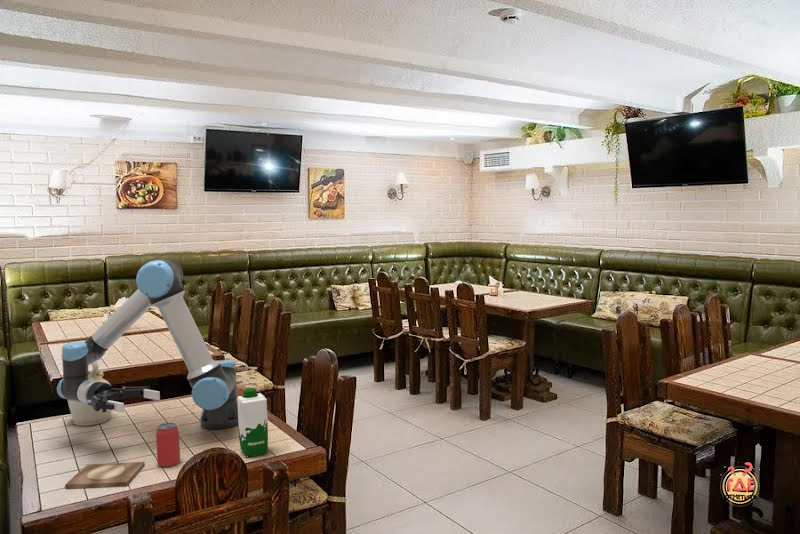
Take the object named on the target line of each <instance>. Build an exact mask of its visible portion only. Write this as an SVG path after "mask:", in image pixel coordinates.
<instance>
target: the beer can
mask: <svg viewBox="0 0 800 534" xmlns="http://www.w3.org/2000/svg"><path fill="white" fill-rule="evenodd" d="M179 430H180V429H179V428H178V426H177V423H176V422H165V423H160V424H159V425H158V426H157V429H156V432H155V443H156V444H155V446H156V461H157V465H158V466H159V467H162V468H169V467H173V466H176V465H178V464H179V463H180V461H181V451H180V450H181V448H180V432H179Z"/></svg>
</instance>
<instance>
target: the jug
mask: <svg viewBox="0 0 800 534" xmlns="http://www.w3.org/2000/svg"><path fill="white" fill-rule="evenodd" d="M90 365H91V366H92V370H91V371H88V372H89V375H88V376H89V380H93V381H99V382H104V383H108V384H110V385H111V383H110V382H109V381H108V380H107V379H104V378H103V377H104V376H105V374H104V370H103V369H99V367H100V366H99V363H98V360H97V361H95V362H93V363H91V364H90ZM67 403H68V408H69V411H70V415H71V419H72V421H73V424H74V425H76V426H81V427H85V426H87V427H88V426H95V425H100V424H102V423H104V422H107V421H108V420H110V418H111V415H112V410H108V409H107V412H102V409H100V411H95V410H94V408H93V407H92V406H91V405H88V403H83V402H78V401H70V400H67Z"/></svg>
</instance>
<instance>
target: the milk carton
mask: <svg viewBox="0 0 800 534" xmlns="http://www.w3.org/2000/svg"><path fill="white" fill-rule="evenodd" d="M267 400H268V399H267V398H266V397H265V395H264V394H262V393H261V392H258V393H257V388H254V387H252V388H251V387H249V388H245V389H244V390H243V394H242V395H240V396H239V395H237V401H238V423H239V424H238V440H239V446H240V451H241V450H242V451H241V453H242V452H243V453H244V454H243V453H242V454H243V456H244V455H245V456H246V457H247V456H253V457H255V456H254V455H258V456H260V455H259V454H263V455H267V454H266V453H269V451H268V449H269V428H268V427H269V426H268V403H267V402H268V401H267ZM245 456H244V457H245ZM246 457H245V458H246Z"/></svg>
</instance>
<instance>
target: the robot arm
mask: <svg viewBox="0 0 800 534" xmlns="http://www.w3.org/2000/svg"><path fill="white" fill-rule="evenodd" d="M183 278H184V272H183V269H182V267H181V266H180V264H179V263H178V262H177V261H175V260H173V259H170V258H159V259H157V260H156V259H155V260H152V261H148V262H146V263H144V265H142V266H141V267H140V269H138V271H137V274H136V279H135V282H136V285H137V286H136V287H137V289H136V290H135V292H133V293H132V294H131V296H129V297H128V298H127V299H126V300H125V302H124V303H122V304H121V305H120V306H119V307H118V308H117V309H116V310H115V311H114V312H113V313H112V315H110V316H109V317H108V318H107V319H106V320H104V322H103V323H102V324H101V325H100V326H99V327H98V328H97V329H96V330H95V331H94V332H93V333H92V334H91V335H90V336H89V337H87V339H86V340H84V341H73V342H68V343H64V344H63V346H62V348H61V358H62V361H61V362H62V374H63V376H62V379H60V380H59V382H58V385H57V386H56V392H57V394H58V396H59V397H60V398H62V399H65V400H67V401H68V400H70V401H78V402H83V403H88V405H91V406H92V407H93V408H94V410H95V411H100V409H102V412H107V409H108V410H111V412H118V413H125V403H124V402H119V400H120V401H121V400H122V401H123V400H125V399H126V398H127V399H128V398H130V399H131V398H140V397H141V398H142V397H143V399H149V400H155V401H160V399H161V395H160V392H161V391H158V390H153V389H151V386H148V385H145V386H125V385H123V386H121V388H117V387H113V386H112V385H111V383H110V384H108V383H104V382H99V381H93V380H89V376H88V375H89V372H90V371H89V366H90V365H92V364H91V363H93V362H95V361H97V362H98V361H99V360H100V359H101V358H102V357H103V356H104V355H105V354H106V352H107V351H108V350H109V349H110V348H111V347H112V346H113V345H114V344H115V343H116V342H117V341H118V340H119V339H120V338H121V337H122V336H123V335H124V334H125V333H126V332H127V331H128V330H129V329H130V328H131V327H132V326H133V325H134V324H135V323H136V322H137V321H138V320H139V319H140V318H142V316H144V314H146V313H147V311H148V310H150V308H152V307H154V308H157V309H158V311H159V312H160V315H161V316H162V319H163V320H164V323H165V324H166V325H165V326H167V329H168V331H169V333H170V336H171V337H172V339H173V341H174V343H175V345H176V348H177V349H178V352H179V354H180V356H181V358H182V361H184V362H183V363H185V366H186V368H187V370H188V374H187V377H186V378H187V381H188V382H189V384H190V386H191V389H192V390H191V397H192V400H193V401H192V402H194V404H195V405H196V406H197V407H198V408H201V409H202V411H201V415H200V418H199V419H200V420H199V423H200V426H201V427H202V428H204V429H208V430H223V429H228V427H229V428H232V426H233V427H235V425H236V426H239V423H238V386H237V385H238V384H237V382H238V381H237V365H236V364H237V363H236V362H235V361H234V360H229V359H228V360H227V359H224V360H223V359H222V360H214V359H213V356H212V354H211V353H210V351H209V348H208V346H207V344H206V342H205V340H204V338H203V336H202V334H201V332H200V330H199V328H198V325H197V324H196V321H195V320H194V317H193V315H192V313H191V312H190V309H189V307H188V305H187V303H186V301H185V299H184V295H185V293H186V290H185V288H184V286H183V284H182V281H183Z"/></svg>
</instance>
